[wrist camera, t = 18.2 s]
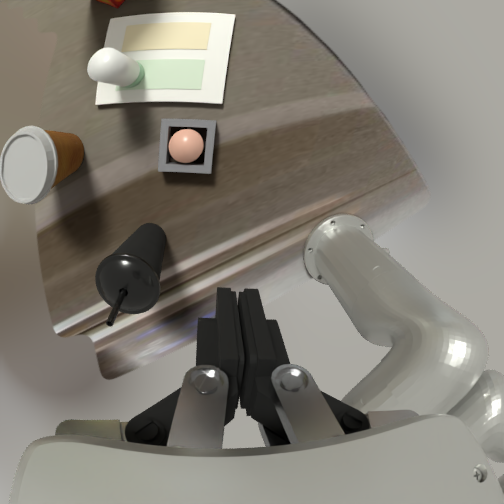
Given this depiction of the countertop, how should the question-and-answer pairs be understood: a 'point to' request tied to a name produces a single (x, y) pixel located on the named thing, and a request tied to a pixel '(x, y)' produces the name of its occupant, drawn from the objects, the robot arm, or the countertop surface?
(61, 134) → the disposable coffee cup
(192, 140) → the button cap
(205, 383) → the robot arm
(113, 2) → the baking soda box
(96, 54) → the white cylinder
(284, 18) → the countertop surface
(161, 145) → the button housing
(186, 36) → the picture board
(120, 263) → the drinking cup
